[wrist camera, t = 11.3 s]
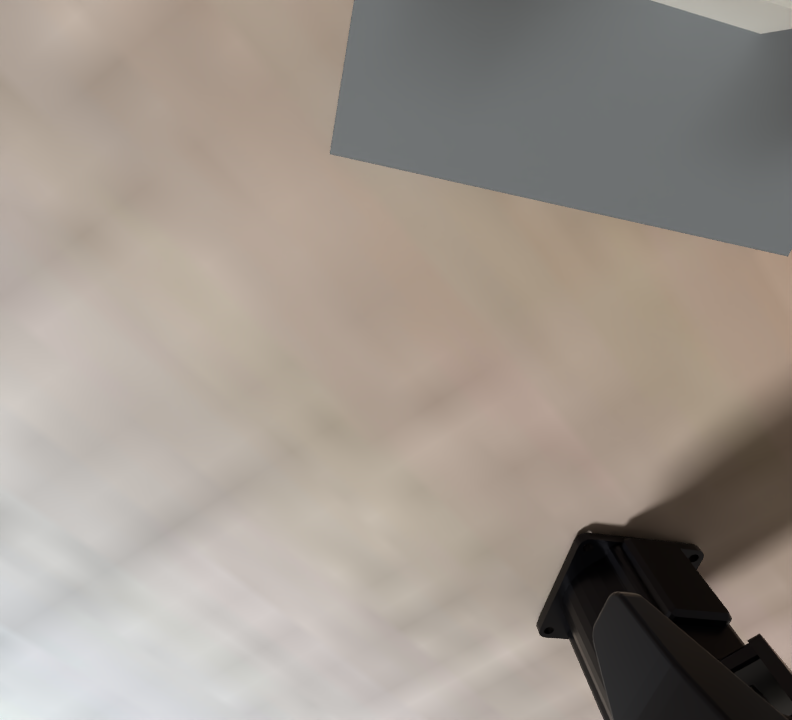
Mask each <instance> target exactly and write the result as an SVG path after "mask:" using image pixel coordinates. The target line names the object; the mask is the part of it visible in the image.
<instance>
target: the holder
mask: <svg viewBox="0 0 792 720" xmlns="http://www.w3.org/2000/svg"><path fill="white" fill-rule="evenodd" d="M330 154H332V155H337V156H341V157H346V158H350V159H354V160H359V161H363V162H368V163H372V164H377V165H381V166H386V167H390V168H395V169H399V170H404V171H408V172H413V173H417V174H422V175H426V176H431V177H435V178H439V179H444V180H448V181H453V182H457V183H462V184H466V185H471V186H475V187H480V188H484V189H489V190H493V191H498V192H502V193H507V194H511V195H516V196H520V197H525V198H529V199H533V200H538V201H542V202H547V203H551V204H556V205H560V206H565V207H569V208H574V209H578V210H583V211H587V212H592V213H596V214H601V215H605V216H610V217H614V218H618V219H623V220H627V221H632V222H636V223H641V224H645V225H650V226H654V227H659V228H663V229H668V230H672V231H677V232H681V233H686V234H690V235H695V236H699V237H704V238H708V239H712V240H717V241H721V242H726V243H730V244H735V245H739V246H744V247H748V248H753V249H757V250H762V251H766V252H771V253H775V254H780V255H784V256H788V255H789V253H790V251H791V249H792V0H354V5H353V11H352V17H351V23H350V30H349V36H348V42H347V49H346V55H345V61H344V68H343V74H342V80H341V87H340V93H339V99H338V106H337V112H336V118H335V125H334V131H333V137H332V143H331V150H330Z"/></svg>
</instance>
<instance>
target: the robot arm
mask: <svg viewBox="0 0 792 720" xmlns="http://www.w3.org/2000/svg"><path fill="white" fill-rule="evenodd" d="M586 544H587V545H586ZM703 557H704V554H703V552H702V551H701V550H700V549H699V547H698V546H697V545H694V544H686V543H677V542H668V541H659V540H649V539H640V538H631V537H622V536H612V535H603V534H594V533H583V534H581V535H579V536H578V537H577V538H576V539H575V541H574V543H573V545H572V547H571V550H570V552H569V554H568V556H567V558H566V561H565V563H564V565H563V567H562V569H561V571H560V574H559V576H558V578H557V580H556V582H555V585H554V587H553V589H552V591H551V593H550V595H549V598H548V600H547V602H546V604H545V606H544V609H543V611H542V613H541V615H540V617H539V619H538V622H537V625H536V626H537V629H538V631H539V634H540V635H541V636H542V637H546V638H561V639H569V640H570V642H571V645H572V647H573V649H574V652H575V654H576V656H577V659H578V661H579V663H580V666H581V668H582V670H583V673H584V675H585V677H586V679H587V682H588V684H589V686H590V689H591V691H592V693H593V696H594V698H595V700H596V703H597V705H598V707H599V710H600V712H601V714H602V717H603V719H604V720H792V671H791V670H790V669H789V668H788V666H787V665H786V664H785V663H784V662H783V661H782V659H781V658H780V657H779V656H778V655H777V653H776V652H775V651H774V650H773V649H772V647H771V646H770V645H769V644H768V643H767V641H766V640H765V639H764V638H763V637H762V636H761V634H758V635H756V636H754V637H753V638H751V639H749V640H747V641H748V642H749V643H748V644H746V645H745V644H744V643H743V642H742V640H741V639H740V638H739V636H738V635H737V634H736V632H735V631H734V630H733V628H732V627H731V626H730V624H729V623H730V622H731V620H732V618H731V616H730V614H729V612H728V610H727V609H726V608H725V606H724V605H723V604H722V602H721V601H720V600H719V599H718V597H717V596H716V595H715V593H714V592H713V591H712V589H711V588H710V587H709V585H708V584H707V583H706V582H705V580H704V579H703V578H702V576H701V575H700V574H699V572H698V571H697V568H698V566H699V565H700V563H701V561H702V560H703Z"/></svg>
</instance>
